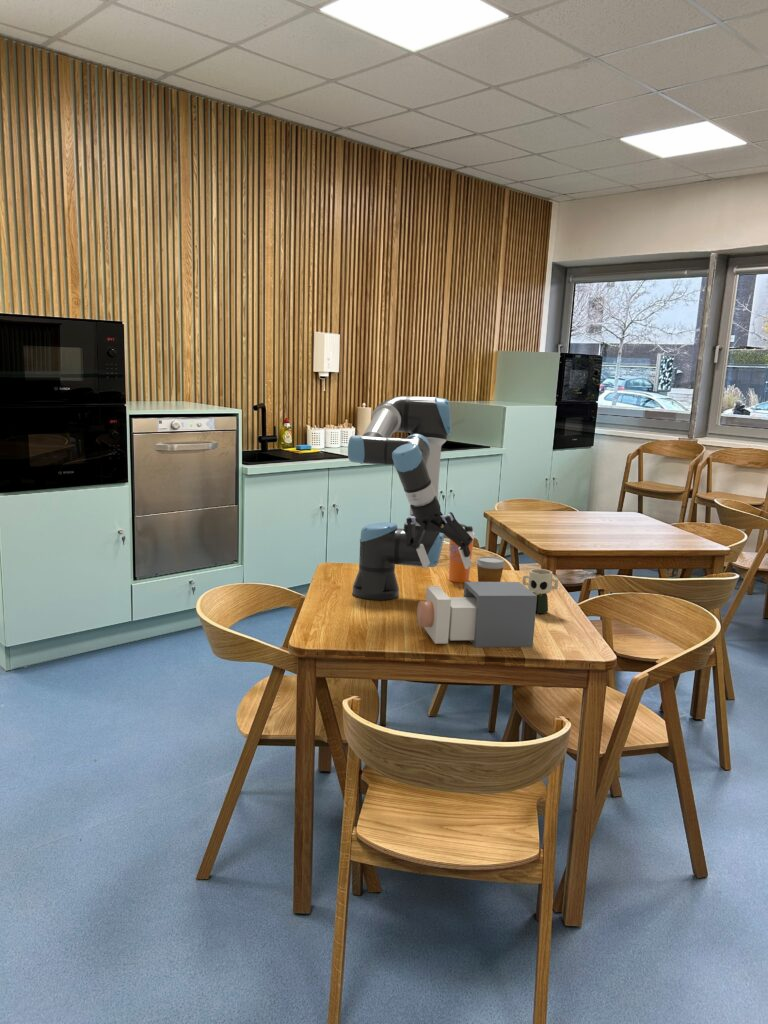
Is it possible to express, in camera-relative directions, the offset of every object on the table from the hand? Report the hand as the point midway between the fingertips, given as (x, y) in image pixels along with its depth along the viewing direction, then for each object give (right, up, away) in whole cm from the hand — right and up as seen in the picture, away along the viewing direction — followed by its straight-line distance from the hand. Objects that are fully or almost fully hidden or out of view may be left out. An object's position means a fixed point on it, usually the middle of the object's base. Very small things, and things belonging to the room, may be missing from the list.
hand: (447, 566), depth 208 cm
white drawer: (+2, -19, -2) cm, 19 cm away
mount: (+13, -20, 0) cm, 24 cm away
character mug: (+30, -16, +27) cm, 44 cm away
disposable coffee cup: (+17, -13, +44) cm, 49 cm away
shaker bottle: (+9, -10, +61) cm, 62 cm away
